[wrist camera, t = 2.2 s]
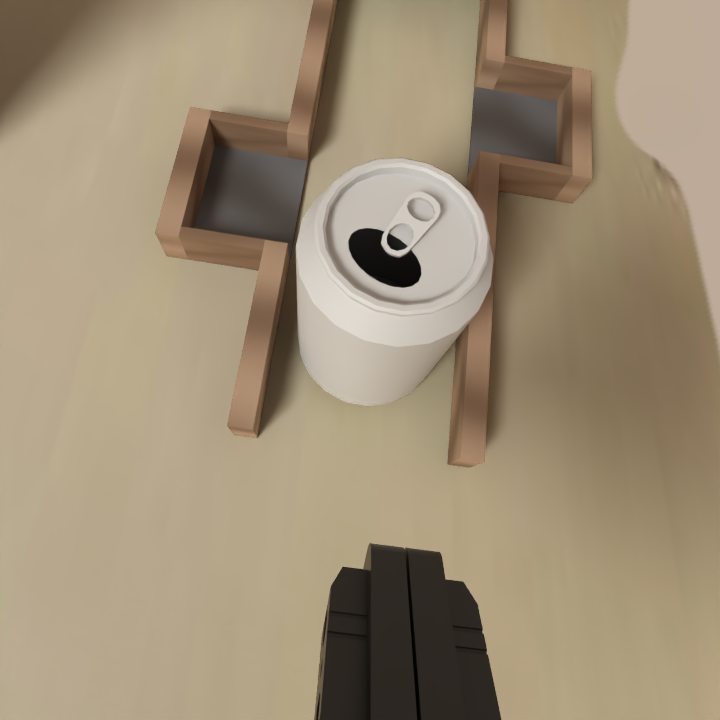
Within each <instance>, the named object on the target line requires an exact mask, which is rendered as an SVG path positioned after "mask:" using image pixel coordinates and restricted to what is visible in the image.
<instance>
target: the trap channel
mask: <svg viewBox="0 0 720 720" xmlns="http://www.w3.org/2000/svg"><path fill="white" fill-rule="evenodd" d="M337 1H338V0H314V1H313V6H312V11H311V16H310V21H309V26H308V31H307V35H306V40H305V45H304V50H303V55H302V60H301V65H300V70H299V75H298V80H297V85H296V90H295V95H294V100H293V104H292V109H291V114H290V119H289V124H288V123H282V122H276V121H270V120H264V119H259V118H253V117H247V116H241V115H235V114H229V113H224V112H218V111H212V110H206V109H200V108H195V107H190V109H189V112H188V116H187V119H186V123H185V127H184V130H183V134H182V138H181V141H180V145H179V148H178V152H177V156H176V159H175V163H174V166H173V170H172V174H171V177H170V181H169V184H168V188H167V192H166V195H165V199H164V202H163V206H162V210H161V213H160V217H159V220H158V224H157V228H156V231H155V233H156V235H157V237H158V239H159V241H160V243H161V245H162V247H163V250H164V252H165V254H166V256H170V257H176V258H183V259H189V260H196V261H202V262H208V263H215V264H221V265H228V266H234V267H240V268H247V269H253V270H259V272H258V277H257V282H256V287H255V292H254V297H253V302H252V306H251V311H250V316H249V321H248V326H247V331H246V336H245V341H244V346H243V351H242V356H241V361H240V366H239V370H238V375H237V380H236V385H235V390H234V395H233V400H232V405H231V410H230V415H229V420H228V425H227V426H228V427H229V429H230V430H231V431H232V433H233V434H234V435H240V436H247V437H254V438H257V436H258V431H259V425H260V420H261V414H262V409H263V404H264V398H265V393H266V387H267V382H268V376H269V371H270V365H271V360H272V355H273V349H274V344H275V338H276V333H277V327H278V322H279V317H280V311H281V306H282V300H283V295H284V289H285V284H286V279H287V273H288V268H289V262H290V257H291V251H292V246H293V240H294V235H295V230H296V224H297V219H298V213H299V208H300V202H301V197H302V192H303V186H304V181H305V175H306V170H307V164H308V159H309V153H310V148H311V143H312V137H313V132H314V126H315V121H316V115H317V110H318V105H319V99H320V94H321V88H322V83H323V77H324V72H325V67H326V61H327V56H328V50H329V45H330V39H331V34H332V28H333V23H334V18H335V12H336V7H337ZM507 6H508V0H480V14H479V28H478V42H477V56H476V70H475V84H474V99H473V113H472V127H471V141H470V155H469V169H468V183H467V190H469V191H470V192H471V194H472V195H473V197H474V199H475V200H476V202H477V203H478V205H479V207H480V208H481V210H482V212H483V213H484V216H485V220H486V224H487V228H488V232H489V237H490V241H489V242H490V246H491V250H492V254H493V268H492V278H491V286H490V288H489V290H488V292H487V294H486V296H485V298H484V301H483V303H482V305H481V307H480V309H479V311H478V312H477V313H476V315H475V316H474V317H473V318H472V320H471V321H470V322H469V323H468V325H467V326H466V327H465V329H464V330H463V331H462V332H461V334H460V335H459V336H458V337H457V339H456V352H455V366H454V380H453V394H452V408H451V422H450V436H449V450H448V464H449V465H456V466H463V467H472V466H475V465H477V464H480V463H482V462H485V449H486V429H487V409H488V389H489V369H490V348H491V328H492V308H493V288H494V268H495V248H496V227H497V207H498V191H503V192H508V193H514V194H520V195H526V196H532V197H538V198H544V199H550V200H556V201H562V202H568V203H573V202H574V201H575V199H576V198H577V197H578V196H579V194H580V193H581V192H582V191H583V190H584V188H585V187H586V186H587V185H588V183H589V182H590V181H591V180H592V128H591V71H588V70H583V69H577V68H572V67H566V66H561V65H556V64H550V63H545V62H539V61H534V60H528V59H523V58H517V57H512V56H506V55H505V46H506V26H507Z"/></svg>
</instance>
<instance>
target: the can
mask: <svg viewBox="0 0 720 720" xmlns="http://www.w3.org/2000/svg"><path fill="white" fill-rule="evenodd" d="M489 241H490V237H489V232H488V228H487V224H486V220H485V216H484V213H483V212H482V210H481V208H480V207H479V205H478V203H477V202H476V200H475V199H474V197H473V195H472V194H471V192H470V191H469V190H467V189H466V188H465V187H464V186H463V185H462V184H461V183H460V182H459V181H457V180H456V179H455V178H454V177H453V176H452V175H450V174H448V173H446V172H444V171H442V170H440V169H438V168H436V167H434V166H432V165H430V164H429V163H425V162H420V161H415V160H411V159H406V158H388V159H375V160H372V161H369V162H366V163H364V164H361V165H358V166H355V167H352V168H351V169H349V170H348V171H347V172H345V173H344V174H343V175H342V176H340V177H339V178H338V179H336V180H335V181H334V182H332V184H331V185H330V187H329V188H328V189H327V190H325V191H324V192H323V193H321V194H320V195H319V196H317V198H316V199H315V201H314V202H313V204H312V205H311V207H310V208H309V210H308V211H307V213H306V214H305V216H304V217H303V219H302V222H301V226H300V231H299V235H298V239H297V243H296V276H297V314H298V339H299V347H300V355H301V358H302V360H303V362H304V364H305V366H306V368H307V370H308V372H309V374H310V376H311V377H312V378H313V379H314V380H315V381H316V382H317V383H318V384H319V385H320V386H321V387H322V388H323V389H324V390H325V391H326V392H328V393H329V394H331V395H333V396H335V397H337V398H339V399H341V400H343V401H344V402H348V403H353V404H359V405H364V406H373V405H381V404H389V403H392V402H394V401H396V400H398V399H400V398H402V397H404V396H407V395H409V394H410V393H411V392H412V391H413V390H414V389H415V388H416V387H417V386H418V385H419V384H420V383H421V382H422V381H423V380H424V379H425V378H426V377H427V376H428V374H429V373H430V372H431V371H432V369H433V368H434V367H435V365H436V364H437V363H438V362H439V360H440V359H441V358H442V357H443V355H444V354H445V353H446V351H447V350H448V349H449V348H450V346H451V345H452V344H453V343H454V341H455V340H456V339H457V337H458V336H459V335H460V334H461V332H462V331H463V330H464V329H465V327H466V326H467V325H468V323H469V322H470V321H471V320H472V318H473V317H474V316H475V315H476V313H477V312H478V311H479V309H480V307H481V305H482V303H483V301H484V298H485V296H486V294H487V292H488V290H489V288H490V286H491V278H492V268H493V254H492V250H491V246H490V242H489Z"/></svg>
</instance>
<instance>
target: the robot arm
mask: <svg viewBox="0 0 720 720" xmlns="http://www.w3.org/2000/svg"><path fill="white" fill-rule="evenodd" d="M486 651H487V648H486V643H485V638H484V634H482V624H481V619H480V614H479V609H478V604H477V603H476V601H475V600H474V598H473V596H472V595H471V593H470V592H469V590H468V589H467V587H466V585H465V584H464V582H461V581H453V580H445V574H444V568H443V561H442V556H441V554H440V552H434V551H426V550H419V549H411V548H405V549H404V548H402V547H394V546H386V545H378V544H371V543H370V544H369V546H368V550H367V554H366V559H365V563H364V568H363V569H356V568H348V567H342V569H341V571H340V572H339V574H338V575H337V577H336V579H335V580H334V582H333V584H332V585H331V589H330V594H329V600H328V605H327V611H326V616H325V622H324V628H323V633H322V642H321V653H320V664H319V674H318V686H317V696H316V707H315V718H314V720H501V716H500V711H499V706H498V701H497V697H496V692H495V687H494V682H493V677H492V672H491V668H490V663H489V658H488V655H487V653H486Z"/></svg>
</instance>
